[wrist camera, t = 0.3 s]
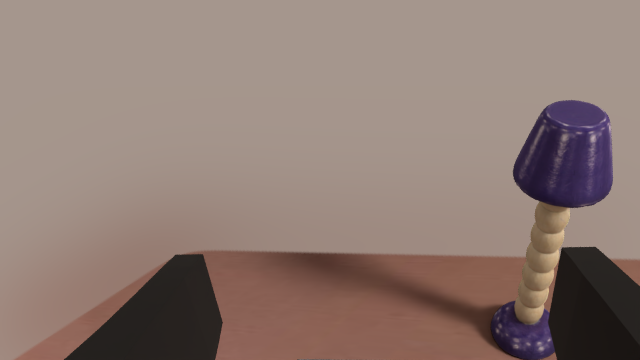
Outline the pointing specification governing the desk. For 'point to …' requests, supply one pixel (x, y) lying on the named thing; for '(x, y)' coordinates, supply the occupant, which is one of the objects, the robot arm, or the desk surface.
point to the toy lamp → (553, 211)
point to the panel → (313, 359)
